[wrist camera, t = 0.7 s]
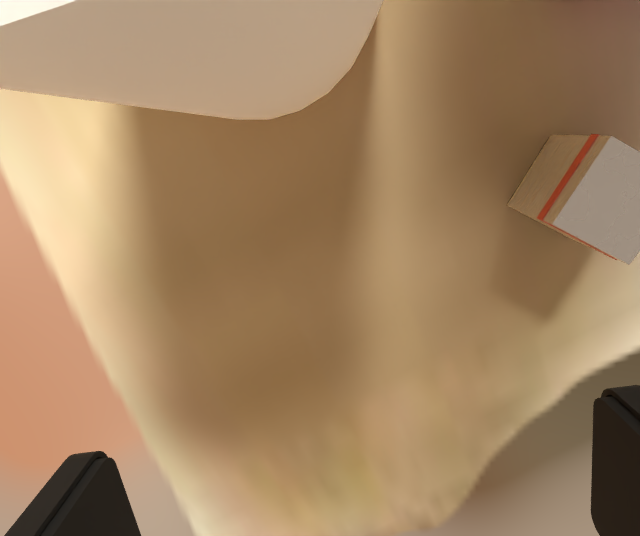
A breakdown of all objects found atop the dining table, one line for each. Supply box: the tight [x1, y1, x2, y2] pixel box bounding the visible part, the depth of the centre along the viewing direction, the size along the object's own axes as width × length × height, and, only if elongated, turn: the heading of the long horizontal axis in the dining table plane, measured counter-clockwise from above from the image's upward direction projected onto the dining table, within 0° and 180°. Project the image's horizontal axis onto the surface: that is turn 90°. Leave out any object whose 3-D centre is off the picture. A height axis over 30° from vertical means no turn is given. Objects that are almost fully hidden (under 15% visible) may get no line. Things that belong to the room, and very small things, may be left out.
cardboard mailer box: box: [507, 134, 640, 264], centre depth 29 cm, size 6×6×7 cm
